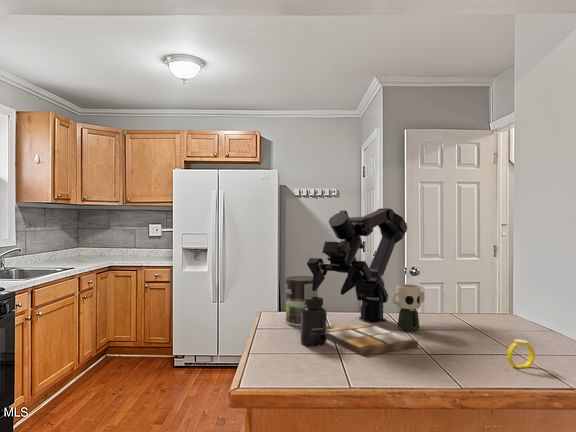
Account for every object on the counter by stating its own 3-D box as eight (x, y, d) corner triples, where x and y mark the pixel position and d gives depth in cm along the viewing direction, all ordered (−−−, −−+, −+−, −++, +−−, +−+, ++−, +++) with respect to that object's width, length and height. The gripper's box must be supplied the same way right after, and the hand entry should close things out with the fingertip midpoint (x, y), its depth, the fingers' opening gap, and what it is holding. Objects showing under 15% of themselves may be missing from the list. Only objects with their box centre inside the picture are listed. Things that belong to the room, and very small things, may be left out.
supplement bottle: (317, 348, 115) (317, 301, 115) (295, 343, 119) (295, 298, 119) (331, 342, 121) (331, 297, 121) (310, 338, 125) (310, 294, 125)
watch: (527, 365, 102) (529, 339, 102) (536, 369, 100) (538, 342, 100) (504, 365, 101) (505, 338, 101) (512, 369, 98) (514, 342, 99)
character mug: (399, 334, 129) (399, 288, 129) (386, 328, 135) (385, 285, 135) (431, 331, 132) (431, 286, 132) (417, 325, 139) (417, 283, 139)
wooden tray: (371, 329, 134) (371, 323, 134) (418, 347, 116) (417, 339, 116) (321, 336, 127) (321, 329, 127) (362, 355, 109) (362, 348, 109)
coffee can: (287, 327, 137) (287, 280, 138) (284, 319, 148) (284, 276, 148) (321, 326, 139) (321, 280, 139) (315, 318, 149) (315, 275, 149)
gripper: (310, 230, 135) (287, 271, 126) (366, 231, 124) (346, 276, 115) (324, 255, 141) (304, 295, 132) (379, 258, 130) (361, 302, 121)
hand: (327, 292), depth 125 cm, fingers open, 9 cm apart
